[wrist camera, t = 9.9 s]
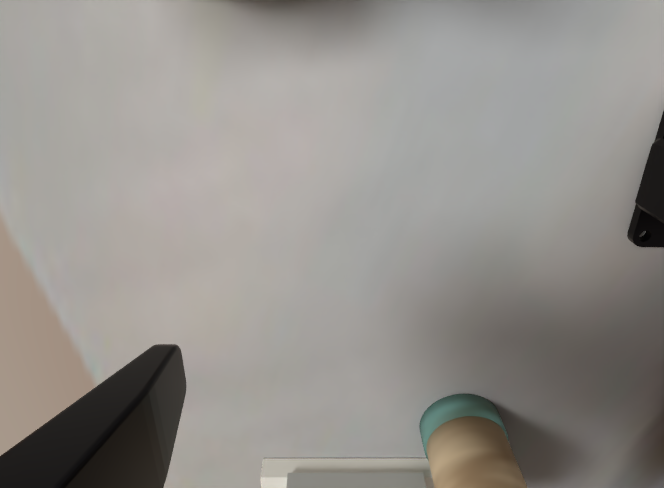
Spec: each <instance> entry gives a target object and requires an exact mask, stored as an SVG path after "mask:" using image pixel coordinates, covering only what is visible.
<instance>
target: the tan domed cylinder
mask: <svg viewBox="0 0 664 488" xmlns="http://www.w3.org/2000/svg"><path fill="white" fill-rule="evenodd" d="M420 433H421V438H422V442H423V447H424V451H425V455H426V458H427V459H428V461H429V465H430V470H431V474H432V479H433V483H434V488H527V485H526V483H525V481H524V478H523V476H522V473H521V471H520V469H519V466H518V464H517V461H516V459H515V457H514V454H513V452H512V449H511V447H510V445H509V442H508V435H507V432H506V430H505V427H504V425H503V422H502V420H501V418H500V415H499V413H498V411H497V409H496V407H495V406H494V405H493V404H492V403H491V402H490V401H488V400H487V399H485V398H483V397H480V396H477V395H472V394H456V395H451V396H447V397H445V398H442V399H440V400H438V401H436V402H435V403H433V404H432V405H431V406H430V407H429V408H428V409H427V410H426V411H425V412H424V414H423V416H422V418H421V421H420Z"/></svg>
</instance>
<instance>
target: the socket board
mask: <svg viewBox="0 0 664 488" xmlns="http://www.w3.org/2000/svg"><path fill="white" fill-rule="evenodd" d="M260 478H261V488H434V483H433V479H432V474H431V470H430V465H429V461H428V459H427V458H263V464H262V470H261V477H260Z"/></svg>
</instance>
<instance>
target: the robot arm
mask: <svg viewBox="0 0 664 488" xmlns="http://www.w3.org/2000/svg"><path fill="white" fill-rule="evenodd" d="M643 231H646V233H645V234H644V235H643V236H642V237H639V235H640V234H641V233H642V232H643ZM628 238H629V240H630V241H631V242H633V243H634V244H635V245H637V246H640V247H664V112H663V115H662V119H661V122H660V125H659V129H658V132H657V135H656V139H655V142H654V143H653V144H652V147H651V150H650V154H649V157H648V160H647V164H646V167H645V170H644V174H643V177H642V181H641V184H640V187H639V191H638V194H637V198H636V206H635V210H634V213H633V217H632V220H631V223H630V227H629V230H628ZM185 394H186V378H185V372H184V365H183V359H182V353H181V350H180V348H179V346H177V345H175V344H158V345H154V346H152V347H151V348H149V349H148V350H147V351H145V352H144V353H142V354H141V355H140V356H138V357H137V358H135V359H134V360H133V361H131V362H130V363H129V364H127V365H126V366H124V367H123V368H122V369H120V370H119V371H117V372H116V373H115V374H113V375H112V376H111V377H109V378H108V379H106V380H105V381H104V382H102V383H101V384H99V385H98V386H97V387H95V388H94V389H93V390H91V391H90V392H88V393H87V394H86V395H84V396H83V397H81V398H80V399H79V400H77V401H76V402H75V403H73V404H72V405H71V406H69V407H68V408H66V409H65V410H64V411H62V412H61V413H59V414H58V415H57V416H55V417H54V418H52V419H51V420H50V421H48V422H47V423H45V424H44V425H43V426H41V427H40V428H39V429H37V430H36V431H34V432H33V433H32V434H30V435H29V436H27V437H26V438H25V439H24V440H22V441H21V442H19V443H18V444H16V445H15V446H14V447H12V448H11V449H9V450H8V451H7V452H5V453H4V454H3V455H1V456H0V488H163V487H164V483H165V480H166V477H167V473H168V469H169V465H170V461H171V456H172V452H173V447H174V443H175V439H176V434H177V430H178V425H179V421H180V416H181V412H182V408H183V403H184V399H185Z"/></svg>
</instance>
